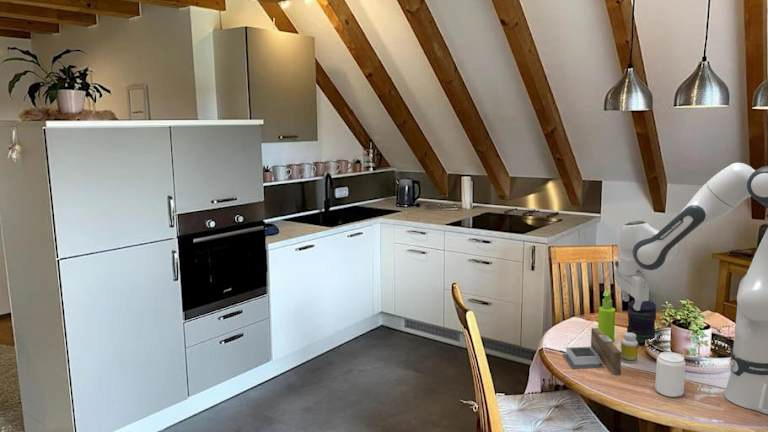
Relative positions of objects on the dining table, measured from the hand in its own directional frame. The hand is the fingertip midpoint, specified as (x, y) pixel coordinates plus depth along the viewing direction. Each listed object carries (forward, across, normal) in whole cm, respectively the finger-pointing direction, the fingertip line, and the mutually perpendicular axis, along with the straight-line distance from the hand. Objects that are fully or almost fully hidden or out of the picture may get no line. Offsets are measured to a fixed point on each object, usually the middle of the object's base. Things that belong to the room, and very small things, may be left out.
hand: (631, 305), depth 206 cm
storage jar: (+21, +16, -11) cm, 28 cm away
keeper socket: (+21, 0, +16) cm, 26 cm away
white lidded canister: (+21, -24, -3) cm, 32 cm away
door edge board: (+21, 0, +8) cm, 22 cm away
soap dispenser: (+21, +17, +2) cm, 27 cm away
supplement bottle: (+21, 0, 0) cm, 21 cm away
